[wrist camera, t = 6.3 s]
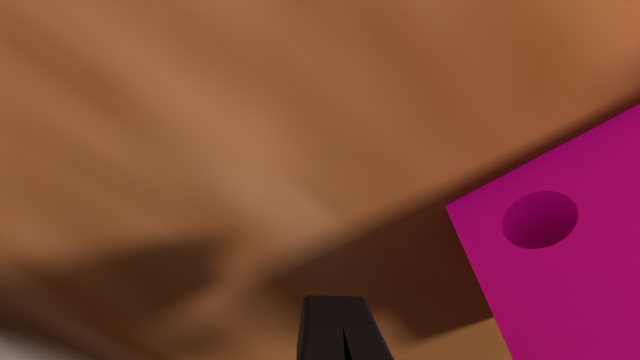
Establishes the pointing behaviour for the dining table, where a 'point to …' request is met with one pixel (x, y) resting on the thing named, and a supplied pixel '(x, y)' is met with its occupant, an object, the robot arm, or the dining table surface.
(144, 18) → the dining table surface
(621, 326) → the toy block
